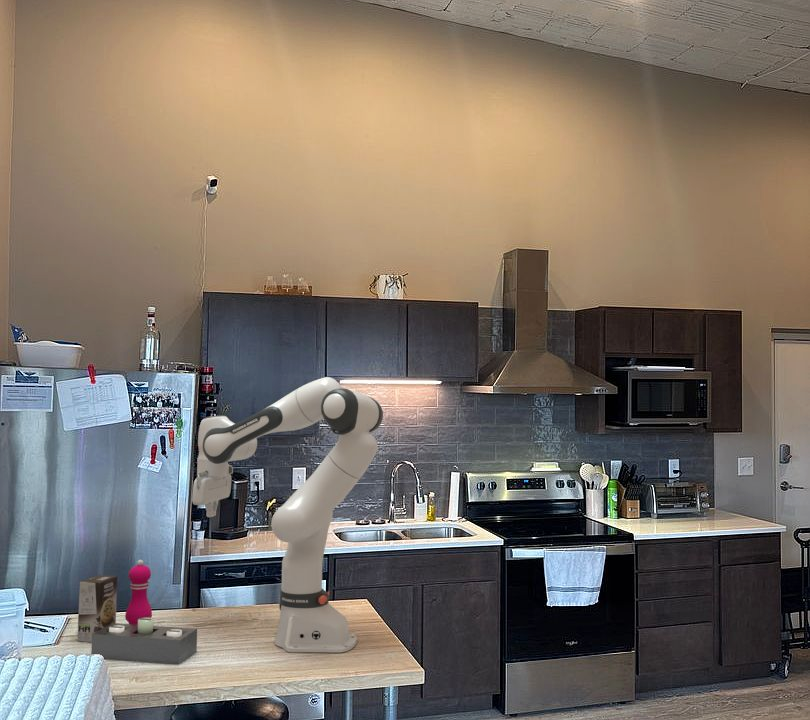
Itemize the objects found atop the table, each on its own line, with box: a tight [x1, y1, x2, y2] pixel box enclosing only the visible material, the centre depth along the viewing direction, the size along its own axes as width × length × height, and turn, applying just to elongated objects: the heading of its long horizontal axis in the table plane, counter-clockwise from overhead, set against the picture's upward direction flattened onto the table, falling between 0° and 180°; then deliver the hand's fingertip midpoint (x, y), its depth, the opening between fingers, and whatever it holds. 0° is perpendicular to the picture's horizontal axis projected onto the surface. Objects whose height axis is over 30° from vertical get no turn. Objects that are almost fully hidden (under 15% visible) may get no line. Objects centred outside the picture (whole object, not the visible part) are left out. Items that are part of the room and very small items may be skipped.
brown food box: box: [76, 574, 118, 643], centre depth 220 cm, size 9×6×16 cm
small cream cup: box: [109, 625, 125, 633], centre depth 207 cm, size 4×4×5 cm
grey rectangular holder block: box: [91, 622, 198, 665], centre depth 205 cm, size 24×10×6 cm, turn 80°
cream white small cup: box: [167, 629, 182, 637], centre depth 204 cm, size 4×4×5 cm
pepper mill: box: [124, 559, 153, 625], centre depth 226 cm, size 7×7×20 cm
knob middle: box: [138, 617, 154, 635], centre depth 206 cm, size 4×4×5 cm
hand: (211, 516), depth 236 cm, fingers closed
